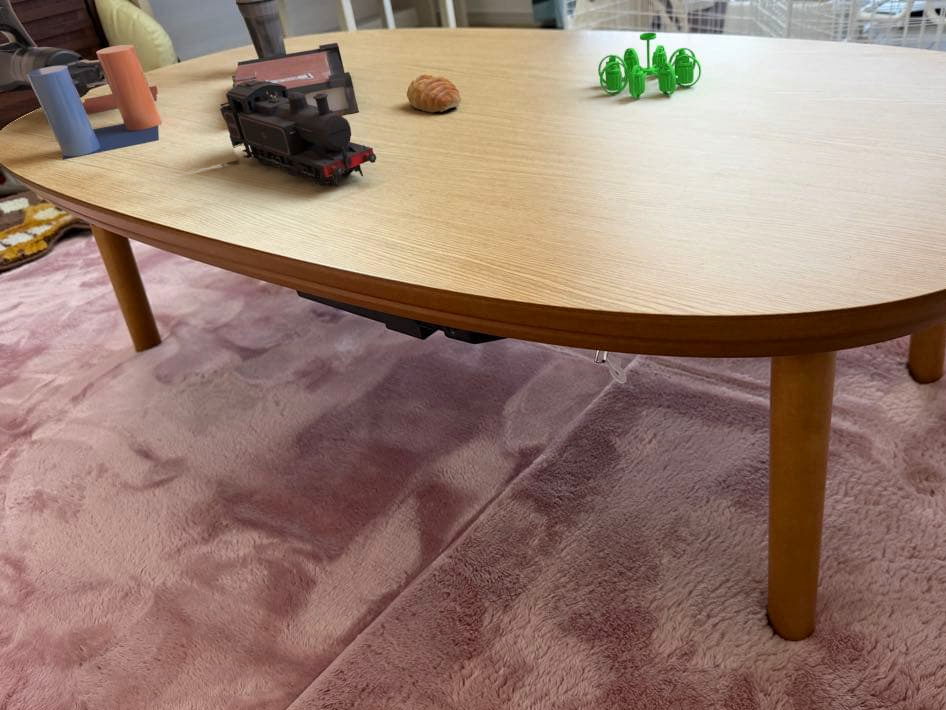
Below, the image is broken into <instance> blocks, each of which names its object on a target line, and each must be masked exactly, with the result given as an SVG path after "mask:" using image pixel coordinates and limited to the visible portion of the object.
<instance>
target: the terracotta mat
mask: <svg viewBox="0 0 946 710" xmlns="http://www.w3.org/2000/svg"><path fill="white" fill-rule="evenodd" d="M149 88H150V91H151V93H152V96H153V99H154V102H155V103H156V102H157V101H158V96H157V95H158V87H157V85H152V86H149ZM83 101H84V102H83V106H84V108H85V111H86V113H87V115H91V114H92V115H93V114H97V113H102V112H108V111H113V110H119V109H118V107H117V104H116V102H115V99H114V97H113V94H112V93H109V94H104V95H100V96H94V97H89V98H84V100H83Z"/></svg>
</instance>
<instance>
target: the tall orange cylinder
mask: <svg viewBox="0 0 946 710" xmlns="http://www.w3.org/2000/svg"><path fill="white" fill-rule="evenodd" d="M95 53H96V56H97V60H99V62H100V64H101V67H102V69H103V72H104V74H105V77H106V79H107V82H108V84H107V85H108V86H109V89H110V92H111V94H113V97H114V99H115V102H116V104H117V107H118V109H117V110H118V111H119V115H120V117H121V119H122V121H123V122H122V123H124V124H125V127H126V129H127V130H129V131H139V130H145V129H149V128H153V127H155V126H158V127H159V126H160V125H161V124H162V123H163V120H162V118H161V115H160V113H159V110H158V107H157V104H156V101H155V102H154V99H153V96H152V93H151V91H150V88H149V87H150V86H149V82H148V80H147V77H146V75H145V72H144V69H143V67H142V63H141V61H140V59H139V56H138V53H137V50H136V48H135V45H133V44H121V45H112V46H109V47H105V48H102V49H98V50H97V51H96V52H95ZM105 77H104V78H105Z"/></svg>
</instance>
